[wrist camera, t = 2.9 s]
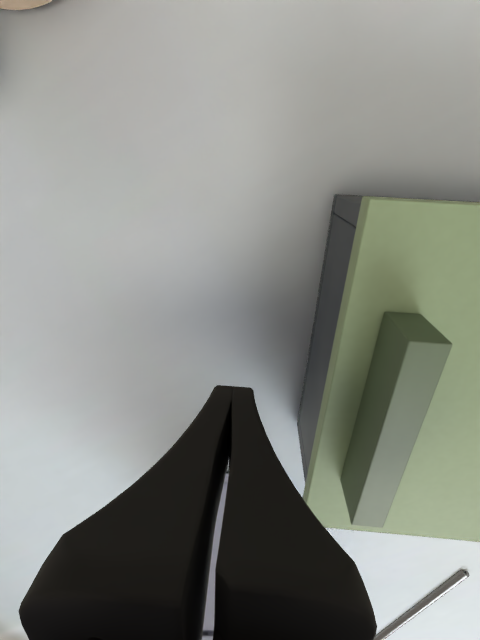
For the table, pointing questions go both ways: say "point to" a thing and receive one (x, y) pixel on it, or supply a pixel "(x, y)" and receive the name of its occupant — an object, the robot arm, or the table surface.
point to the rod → (423, 604)
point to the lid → (404, 377)
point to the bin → (326, 316)
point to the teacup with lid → (22, 4)
